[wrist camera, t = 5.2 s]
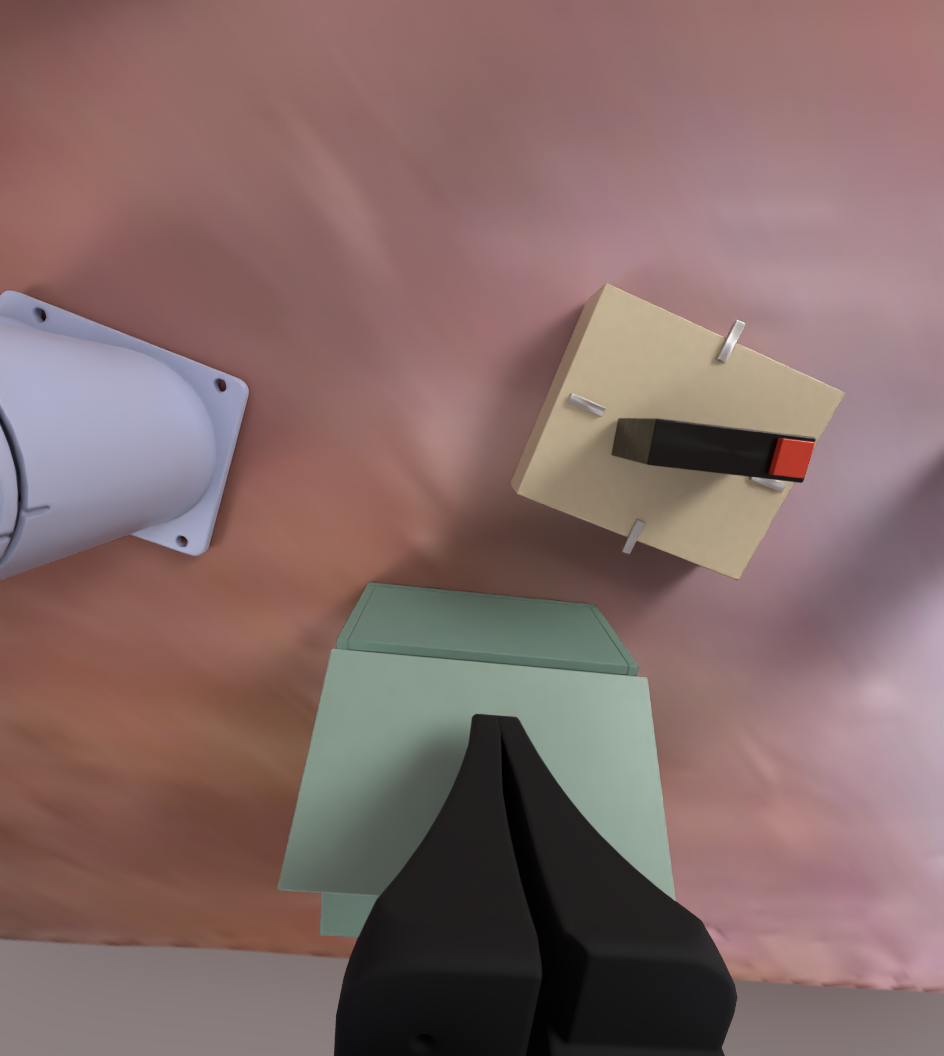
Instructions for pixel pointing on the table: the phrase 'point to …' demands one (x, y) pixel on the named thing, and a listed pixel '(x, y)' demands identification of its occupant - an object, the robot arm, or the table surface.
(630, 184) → the table surface
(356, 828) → the flap
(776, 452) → the latch knob
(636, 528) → the latch panel
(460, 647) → the carton
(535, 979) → the robot arm
